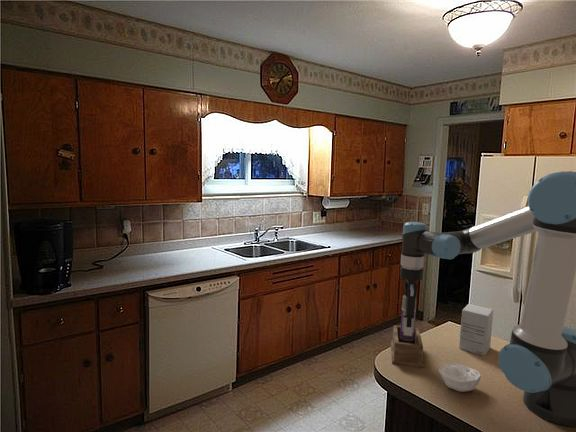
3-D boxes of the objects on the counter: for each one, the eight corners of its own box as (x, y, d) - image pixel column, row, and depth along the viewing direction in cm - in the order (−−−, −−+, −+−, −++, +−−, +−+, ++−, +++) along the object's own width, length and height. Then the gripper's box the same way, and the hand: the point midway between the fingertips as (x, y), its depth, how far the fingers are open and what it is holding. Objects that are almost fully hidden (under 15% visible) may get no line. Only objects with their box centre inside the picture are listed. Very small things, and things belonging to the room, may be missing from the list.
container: (402, 333, 136) (405, 293, 134) (415, 337, 134) (418, 296, 132) (398, 338, 132) (400, 297, 131) (411, 342, 130) (414, 300, 128)
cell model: (487, 396, 109) (490, 374, 108) (448, 398, 108) (450, 376, 107) (467, 377, 119) (469, 357, 118) (431, 379, 118) (432, 358, 117)
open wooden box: (423, 367, 124) (425, 347, 124) (392, 363, 127) (393, 343, 126) (418, 345, 140) (419, 327, 140) (390, 342, 143) (391, 324, 142)
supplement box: (464, 340, 146) (468, 303, 144) (490, 347, 141) (494, 308, 139) (458, 348, 139) (461, 309, 137) (484, 356, 134) (488, 315, 132)
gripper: (426, 274, 120) (421, 344, 123) (420, 262, 138) (416, 323, 140) (401, 272, 122) (397, 341, 125) (399, 260, 139) (395, 321, 142)
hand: (407, 331), depth 133 cm, fingers closed on container, 5 cm apart
